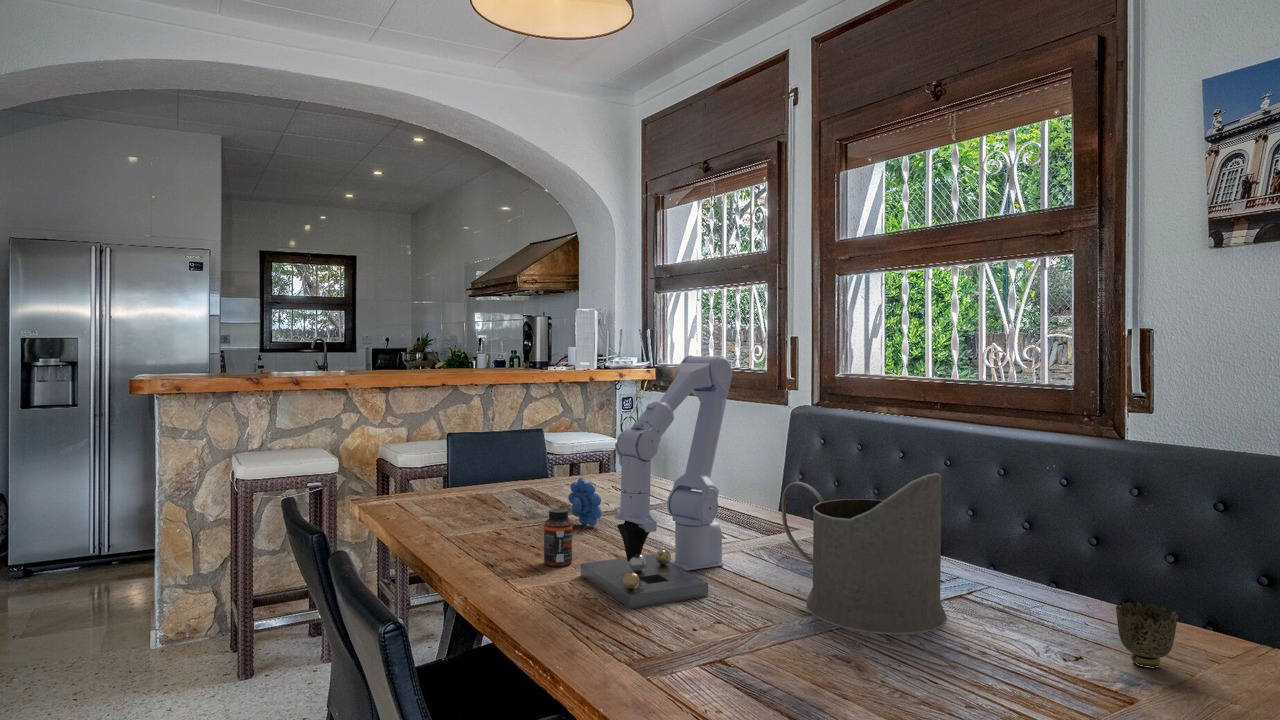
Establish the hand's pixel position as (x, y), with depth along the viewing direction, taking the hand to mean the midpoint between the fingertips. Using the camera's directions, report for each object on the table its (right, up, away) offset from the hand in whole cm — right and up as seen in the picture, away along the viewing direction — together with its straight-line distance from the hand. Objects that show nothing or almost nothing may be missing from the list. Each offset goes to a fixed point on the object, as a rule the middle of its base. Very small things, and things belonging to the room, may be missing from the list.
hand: (633, 561), depth 147 cm
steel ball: (+1, 0, -1) cm, 1 cm away
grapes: (-14, -4, +48) cm, 50 cm away
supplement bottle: (-16, -4, +13) cm, 21 cm away
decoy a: (+6, 0, +4) cm, 7 cm away
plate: (+2, -4, -2) cm, 5 cm away
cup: (+74, -5, -38) cm, 83 cm away
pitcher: (+39, -5, -12) cm, 41 cm away
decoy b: (0, 0, -12) cm, 12 cm away
